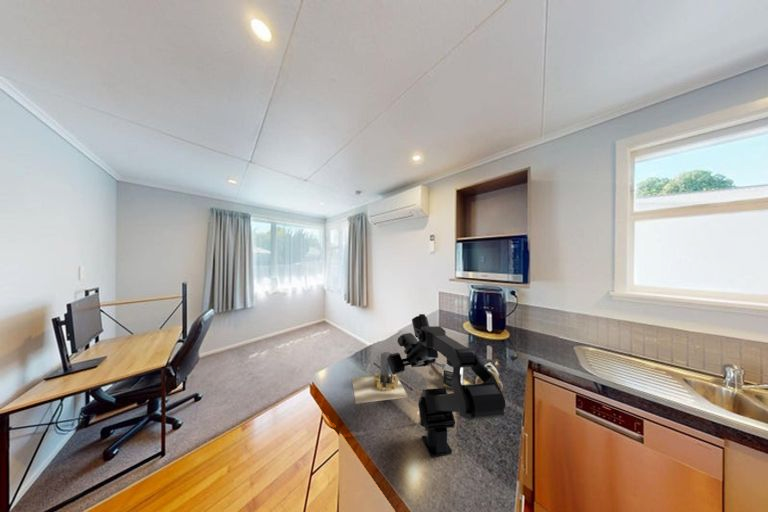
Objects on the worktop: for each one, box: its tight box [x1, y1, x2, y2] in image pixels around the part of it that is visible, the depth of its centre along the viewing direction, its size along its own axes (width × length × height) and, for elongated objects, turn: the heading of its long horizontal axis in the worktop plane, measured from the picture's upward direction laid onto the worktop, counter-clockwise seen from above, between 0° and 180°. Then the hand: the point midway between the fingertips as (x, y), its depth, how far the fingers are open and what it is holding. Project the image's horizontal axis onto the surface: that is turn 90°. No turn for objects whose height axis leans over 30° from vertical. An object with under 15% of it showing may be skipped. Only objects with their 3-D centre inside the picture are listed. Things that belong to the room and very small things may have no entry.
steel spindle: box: [379, 351, 393, 387], centre depth 88 cm, size 5×5×12 cm
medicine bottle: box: [442, 358, 464, 389], centre depth 91 cm, size 7×7×12 cm
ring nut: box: [373, 373, 399, 391], centre depth 88 cm, size 10×10×2 cm
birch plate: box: [351, 374, 409, 405], centre depth 86 cm, size 17×20×1 cm
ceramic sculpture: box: [474, 362, 504, 393], centre depth 92 cm, size 11×9×15 cm
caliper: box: [432, 360, 447, 370], centre depth 104 cm, size 21×1×6 cm, turn 20°
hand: (402, 368), depth 81 cm, fingers open, 9 cm apart
